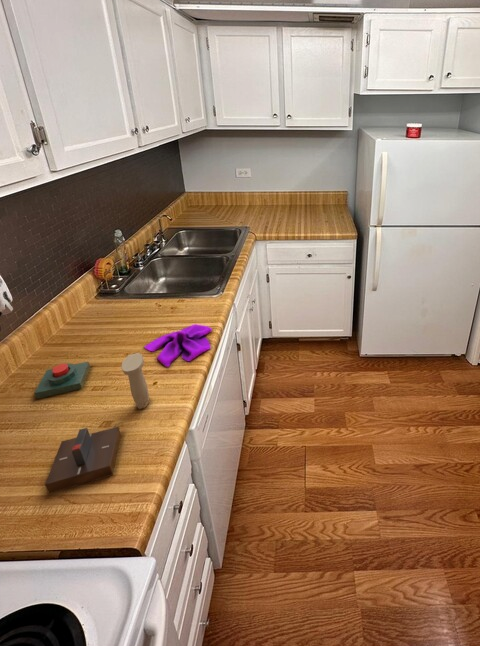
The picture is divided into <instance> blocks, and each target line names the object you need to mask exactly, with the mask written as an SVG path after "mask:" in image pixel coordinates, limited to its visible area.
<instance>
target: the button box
mask: <svg viewBox="0 0 480 646" xmlns="http://www.w3.org/2000/svg"><path fill="white" fill-rule="evenodd" d="M66 364H67V365H68V368H69V372H68V373H66V374H65V375H63V376H61V377H54V375H53V372H52V370H53V369H54V368H49V369H46V370H45V373H44V375H43V376H42V378H41V380H40V382H39V383H38V385H37V387H36V389H35V391H34V393H33V394H34V396H35V399H36V400H38V399H42V398H47V397H51V396H56V395H60V394H66V393H69V392H74V391H79V390H82V389H83V387H84V384H85V382H86V379H87V376H88V374H89V372H90V369H91V365H90V362H89V361H84V362H79V363H71V362H68V363H66Z"/></svg>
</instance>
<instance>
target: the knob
mask: <svg viewBox="0 0 480 646" xmlns="http://www.w3.org/2000/svg"><path fill="white" fill-rule="evenodd" d="M90 434H91V433H90V431H89V429H88V427H84V428H80V429H78V433H77V435H76V437H75V438H76V441H75V444H74V447H73V449H72V454H73V457H74V459H75V462H76V464H77V466H78V465H81V464H85V462H86V459H87V456H88V452H89V449H90V446H91V442H92V440H91V437H90Z"/></svg>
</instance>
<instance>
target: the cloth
mask: <svg viewBox="0 0 480 646" xmlns="http://www.w3.org/2000/svg"><path fill="white" fill-rule="evenodd" d="M212 330H213V328H211V327H209V326H207V325H202V324H192V325H190V326H187V327H185V328H183V329H181V330H177V331H173V332H171V333H168V334H164V335H162V336H160V337H157V338H156V339H153V341H151V342H150V343H148V344H146V345H144V349H145V350H147V351H149V352H155V351H157V350H159V349H161V348H163V347H164V348H163V350H161V352H160V353H159V354H158V356H157V357H156V359H157V361H159V362H160V363H161V364H162V365H164V366H165V368H166V367H167V368H169V367H170V366H171V364H172V362H173V361H175V360H176V359H177V358H179V356H180V355H181V358H182V360H184V361H187V362H191V361H192V360H194V359H196V358H197V357H198V356H200V355H202V354H203V353H205V352H207V351H208V350H210V349H211V344H210V341H209V339H207V337H206V335H207V334H209V333H211V332H212Z"/></svg>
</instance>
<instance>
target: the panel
mask: <svg viewBox="0 0 480 646" xmlns="http://www.w3.org/2000/svg"><path fill="white" fill-rule="evenodd" d="M89 434H90V437H91V440H92V442H91V446H90V449H89V452H88V456H87V459H86V462H85V464H81V465H78V466H77V464H76V462H75V459H74V457H73V454H72V449H73V447H74V444H75V441H76V438H77V437H73V438H69V439H66V440H62V441H61V442H60V444H59V447H58V450H57V452H56V455H55V457H54V460H53V463H52V465H51V467H50V471H49V473H48V476H47V478H46V481H45V483H44V486H45V488H46V490H47V492H48V494H52V493H56V492H59V491H62V490H65V489H69V488H72V487H76V486H80V485H82V484H85V483H86V484H87V483H89V482H93V481H97V480H98V479H99V480H100V479H102V478H106V477H110V476H112V475H113V474H114V470H115V466H116V461H117V456H118V452H119V447H120V442H121V438H122V433H121V429H120V426H114V427H111V428H107V429H103V430H100V431H96V432H91V433H89Z"/></svg>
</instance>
